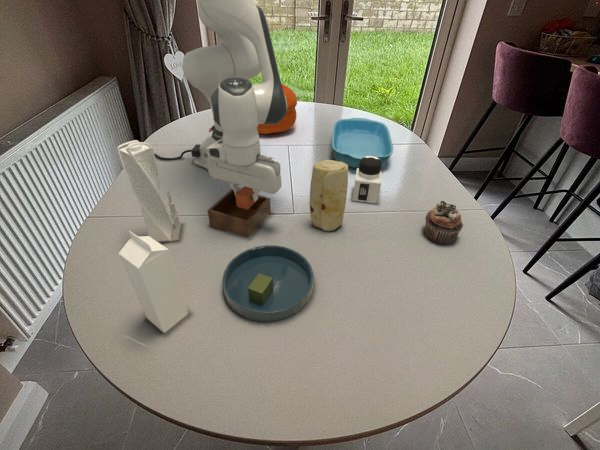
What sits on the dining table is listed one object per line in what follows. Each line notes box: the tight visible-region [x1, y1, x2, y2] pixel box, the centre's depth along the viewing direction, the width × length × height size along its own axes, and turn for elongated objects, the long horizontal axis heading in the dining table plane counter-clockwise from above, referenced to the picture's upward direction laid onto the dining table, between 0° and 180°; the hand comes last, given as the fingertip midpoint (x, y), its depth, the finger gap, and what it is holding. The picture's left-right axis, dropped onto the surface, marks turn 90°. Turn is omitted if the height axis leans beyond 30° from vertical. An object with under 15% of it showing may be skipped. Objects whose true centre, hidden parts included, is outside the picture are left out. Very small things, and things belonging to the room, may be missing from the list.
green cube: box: [248, 273, 273, 305], centre depth 73 cm, size 4×5×4 cm
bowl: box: [221, 244, 315, 323], centre depth 76 cm, size 20×20×4 cm
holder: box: [207, 188, 272, 238], centre depth 94 cm, size 13×13×6 cm
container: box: [351, 156, 383, 204], centre depth 103 cm, size 8×8×13 cm
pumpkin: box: [257, 83, 298, 135], centre depth 141 cm, size 23×23×20 cm
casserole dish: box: [331, 117, 394, 169], centre depth 129 cm, size 37×22×7 cm, turn 174°
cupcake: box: [424, 200, 464, 245], centre depth 89 cm, size 10×10×10 cm
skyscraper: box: [116, 139, 182, 244], centre depth 81 cm, size 8×8×28 cm
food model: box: [309, 159, 349, 232], centre depth 88 cm, size 10×7×20 cm
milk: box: [118, 230, 189, 334], centre depth 63 cm, size 6×6×22 cm
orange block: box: [235, 186, 255, 210], centre depth 90 cm, size 4×5×4 cm
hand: (246, 197), depth 90 cm, fingers closed on orange block, 3 cm apart
